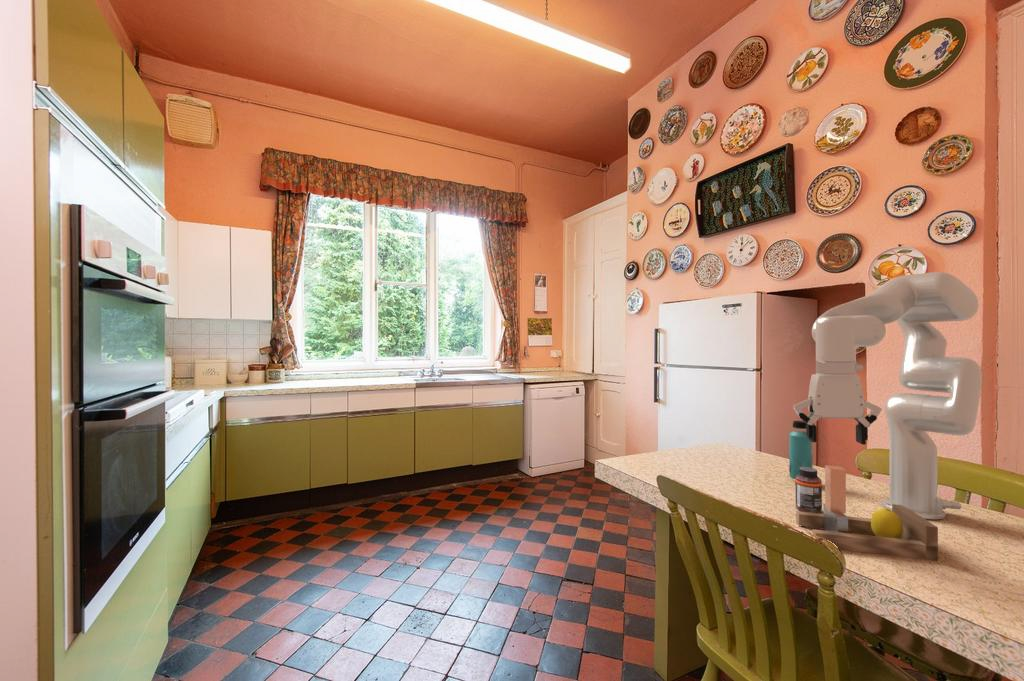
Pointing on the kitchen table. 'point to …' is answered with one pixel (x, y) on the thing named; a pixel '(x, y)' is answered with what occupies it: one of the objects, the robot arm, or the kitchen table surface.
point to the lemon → (886, 524)
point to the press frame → (913, 542)
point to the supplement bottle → (808, 491)
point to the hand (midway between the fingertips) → (836, 442)
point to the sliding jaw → (835, 500)
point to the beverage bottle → (799, 449)
